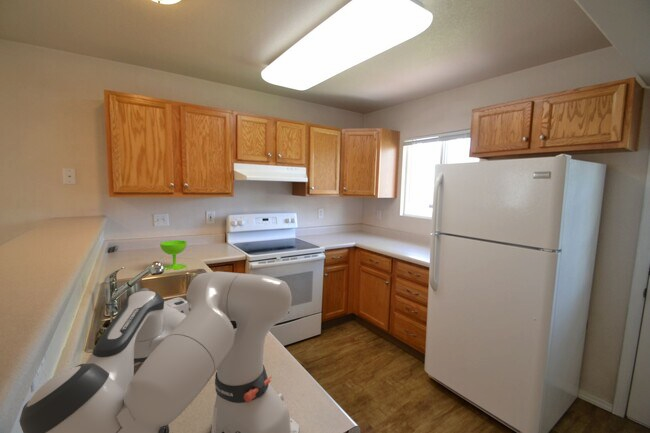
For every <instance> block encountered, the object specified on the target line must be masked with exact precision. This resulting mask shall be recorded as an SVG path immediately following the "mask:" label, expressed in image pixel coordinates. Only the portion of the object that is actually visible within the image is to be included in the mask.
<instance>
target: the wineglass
mask: <svg viewBox="0 0 650 433" xmlns="http://www.w3.org/2000/svg"><path fill="white" fill-rule="evenodd" d="M187 242H188V241H186V240H182V239H181V240H168V241H167V240H166V241H162V242H160V243H159V245H160V248H161V250H162V252H164V253H165V254H167V255H171V256H172V264H169V265H166V266H163V267H164V270H165V268H167V269H166V270H168V269H169V270H170V269H174V270H179V269H183V268H186V267H188V265H186V264H183V263H177V255H178V254H181V253H182V252H183V251H184V250H185V249H186V248H187V245H188V244H187Z"/></svg>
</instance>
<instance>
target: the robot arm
mask: <svg viewBox="0 0 650 433" xmlns="http://www.w3.org/2000/svg"><path fill="white" fill-rule="evenodd" d="M137 291H138V290H137ZM137 291H135V292H133V293H131V294H129V295H128V296H127V297H126V298H124V300H123V301H122V302H121V304H120V310H119V312H118V314H116V316H115V317H114V319H112V321H111V322H110V324H109V325H108V326H107V327H106V329H105V330H104V331H103V333H102V334H101V335H100V338H99V339H98V341H97V342H96V344H95V346H94V347H93V350H92V351H91V353H90V355H89V357H88V358H87V360H86V362H85V363H81V364H80V363H79V364H78V365H76V366H74V367H71V368H68V369H66V370H63V371H62V372H59V373H58V374H56V375H54V376H53V377H52V378H50V379H49V380H47V381H46V382H45V383H43V385H41V386H40V387H39V388H38V389H37V390H36V391H35V393H34V394H33V395H32V397H30V399H29V400H28V401H27V402H26V403H25V404H24V406H23V407H22V410H21V412H20V413H21V414H20V417H19V425H20V428H21V431H22V433H170V427H169V425H170V424H172V423H173V422H174V421H175V420H176V419H178V417H179V416H180V415H181V414H182V413H183V412H185V411H186V409H188V407H189V406H190V405H191V404H192V403H193V402H194V401H195V400H196V398H197V397H198V396H199V394H200V393H201V392H202V391H203V389H204V388H205V387H206V385H207V384H208V383H209V382H210V380H211V379H212V377H213V376H214V375H215V376H214V377H215V379H214V386H215V388H214V389H215V393H216V398H215V401H214V406H213V411H212V422H211V423H212V424H211V428H210V429H211V433H301V432H300V429H301V428H300V424H299V423H297V422H296V421H295V419H293V418H292V417H291V416H290V412H289V409H288V406H287V404H286V403H285V402H284V400H285V399H284V395H283V394H282V393H281V392H279V393H277V392H276V390H275V389H274V388H273V387H272V385H271V384H270V383H271V382H272V376H269V377H268V374H267V369H266V368H265V364H264V348H265V340H266V337H267V335H268V333H269V332H270V330H271V329H272V328H273V327H274V326H275V325H276V324H278V323H280V322H281V321H283V319H284V318H286V316H287V314H288V313H289V312H290V309H291V305H292V300H293V297H292V292H291V289H290V286H289V285H288V283H287V282H286V281H284V280H282V279H279V278H276V277H273V276H270V275H266V274H265V275H264V274H253V273H252V274H251V273H243V272H242V273H239V272H230V271H218V270H217V271H209V272H208V271H207V272H201V273H199V274H197V275H196V276H195V277H194V278H193V279H192V280H191V281H190V283H189V285H188V287H187V291H186V299H185V298H183V297H174V298H171V299H168V300H165V299H164V297H163V296H161V295H160V294H159V293H158V292H157V291H154V290H150V289H149V290H143V291H138V292H137ZM189 309H190V310H189ZM230 321H236V324H237V328H236V329H234V328H233V325H232V323H231V322H230ZM134 361H135V362H144V363H143V364H142V365H141V367H140V368H139V369H138V371H137V372H136V373H135V375H134Z"/></svg>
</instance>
